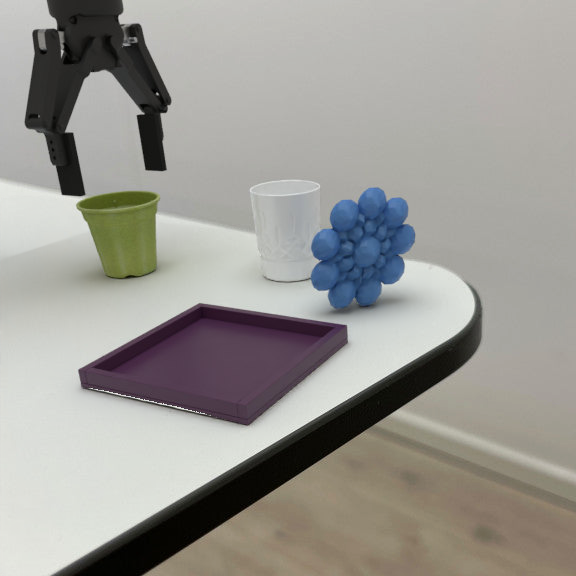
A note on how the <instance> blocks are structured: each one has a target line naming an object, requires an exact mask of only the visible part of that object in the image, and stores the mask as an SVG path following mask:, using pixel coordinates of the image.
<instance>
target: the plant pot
mask: <svg viewBox="0 0 576 576" xmlns="http://www.w3.org/2000/svg"><path fill="white" fill-rule="evenodd" d="M160 201H161V195H160V194H159V193H157V192H155V191H151V190H150V191H148V190H123V191H113V192H107V193H106V192H105V193H101V194H95V195H92V196H88V197H86V198H84V199H83V198H82V199H81V200H79V201H78V202H76V204H75V207H76V210H77V211H79V212H81V215H82V218H83V220H84V221H85V222H86V224H87V226H88V229H89V232H90V234H91V237H92V240H93V243H94V246H95V249H96V252H97V254H98V257H99V261H100V264H101V266H102V269H103V272H104V274H105V275H106V276H108V277H110V278H115V279H124V278H126V277H128V276H135V277H141V276H145V275H148V274H149V273H152V272H153V271H155V270H156V268H157V265H158V258H157V257H158V256H157V213H158V202H160Z"/></svg>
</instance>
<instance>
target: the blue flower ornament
mask: <svg viewBox="0 0 576 576" xmlns="http://www.w3.org/2000/svg"><path fill="white" fill-rule="evenodd" d="M329 214H330V215H329V222H330V226H331V228H321V231H319V232H318V233H317V234H316V235H315V237H314V238H313V240H312V244H311V250H312V253H313V256H314V257H315V258H316V259H318V260H319V261H320V262H319V263H317V264H316V266H315V267H314V269H313V270H312V272H311V278H309V279H310V281H311V286H312V287H313V288H314V289H315V290H317V291H318V292H325V291H328V292H327V299H328V302H329V305H330V306H332V307H333V308H334V309H345V308H346V307H348V306H350V305H351V304H352V302H353V301H354V300H355V302H356V303H357V304H358V305H360V306H361V307H364V306H371V305H372V304H374V303H376V302H377V300H378V299H379V298H380V296H381V294H382V290H383V285H386V286H387V285H394V284H396V283H397V282H399V281H400V279H402V277H403V275H404V273H405V268H406V262H405V261H404V258H403V257H402V256H401V255H404V254H406V253H408V252H410V250H412V249H411V248H413V246H414V244H415V243H416V231H415V229H414V226H412V225H410V224H409V223H405V222H406V220H407V218H408V216H409V205H408V202H407V200H406V199H404V198H403V197H391V198H390V199H388V200H387V195H386V192H385V190H383V189H381V188H380V187H378V186H377V187H375V186H374V187H368V188H366V189H365V190H364V191H363V192H362V193H361V194H360V196H359V198H358V200H357V202H356V201H355V200H352V199H341V200H339V201H338V202H337V203H336V204H334V206H333V207H332V209H331V211H330V213H329Z"/></svg>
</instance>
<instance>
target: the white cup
mask: <svg viewBox="0 0 576 576" xmlns="http://www.w3.org/2000/svg"><path fill="white" fill-rule="evenodd" d="M321 188H322V187H321V184H320V183H318V182H316V181H312V180H304V179H282V180H272V181H266V182H262V183H258V184H254V185H253V186H251V187H250V188H249V196H250V202H251V212H252V217H253V224H254V231H255V237H256V244H257V250H258V252H259V255H260V265H261V273H262V276H264V277H265V278H266V279H267V280H271V281H276V282H288V283H289V282H298V281H299V282H300V281H305V280H309V279H310V278H311V272H312V270H313V269H314V267H315V266H316V264H317V263H319V262H320V261H319V260H318V259H316V258H315V257H314V256H313V253H312V250H311V244H312V240H313V238H314V237H315V235H316V234H317V233H318V232H319V231H321V230H322V203H321V202H322V200H321V199H322V197H321V194H322V193H321V191H322V189H321Z"/></svg>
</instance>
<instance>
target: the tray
mask: <svg viewBox="0 0 576 576" xmlns="http://www.w3.org/2000/svg"><path fill="white" fill-rule="evenodd" d="M348 335H349V334H348V324H341V323H335V322H328V321H322V320H316V319H309V318H302V317H296V316H290V315H289V316H288V315H283V314H275V313H271V312H270V313H269V312H264V311H263V312H262V311H256V310H250V309H243V308H236V307H229V306H223V305H216V304H211V303H202V302H198V303H197V304H195V305H193V306H191V307H189V308H188V309H186V310H184V311H182V312H180V313H179V314H177V315H175V316H173V317H171V318H169V319H168V320H165V321H164V322H162V323H160V324H158V325H156V326H155V327H152V328H151V329H149V330H148V331H146V332H144V333H142V334H140V335H139V336H137V337H134V338H133V339H131V340H129V341H127V342H126V343H123V344H122V345H120V346H118V347H116V348H115V349H113V350H111V351H109V352H107V353H105V354H104V355H102V356H100V357H98V358H97V359H95V360H92V361H91V362H89V363H87V364H86V365H84V366H82V367H80V368H78V369H77V373H78V375H79V376H78V377H79V381H80V387H81V388H82V387H84V388H83V389H85V388H93V389H98V390H104V391H109V392H113V393H118V394H121V395H126V396H131V397H135V398H140V399H143V400H144V399H145V400H149V401H154V402H157V403H162V404H163V403H164V404H167V405H172V406H177V407H181V408H184V409H188V410H192V411H195V412H196V411H197V412H199V413H200V412H201V413H205V414H207V415H211V416H213V417H212V418H214V417H217V418H216V419H218V418H223V419H225V420H224V421H227V420H229V421H228V422H232V421H234V422H233V423H236V422H239V423H238V424H240V423H242V424H241V425H245V424H246V425H245V426H249V425H250V424H251V423H253V422H254V421H255V420H256V419H257V418H259V417H260V416H261V415H262V414H264V413H265V412H266V411H267V410H268V409H269V408H271V407H272V406H273V405H274V404H275V403H276V402H278V401H279V400H280V399H281V398H282V397H284V396H285V395H286V394H287V393H289V392H290V391H291V390H292V389H294V388H295V387H296V386H297V385H298V384H299V383H301V382H303V380H304V379H305V378H307V377H308V376H309V375H310V374H311V373H313V372H314V371H315V370H316V369H317V368H319V367H320V366H321V365H322V364H323V363H325V362H326V361H327V360H329V358H331V357H332V356H333V355H334V354H335V353H337V352H338V351H339V350H340V349H341V348H342V347H345V345H346V344H348V342H349V336H348ZM289 390H290V391H289ZM285 393H286V394H285ZM284 394H285V395H284ZM283 395H284V396H283ZM277 400H278V401H277ZM271 405H272V406H271ZM223 419H222V420H223Z"/></svg>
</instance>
